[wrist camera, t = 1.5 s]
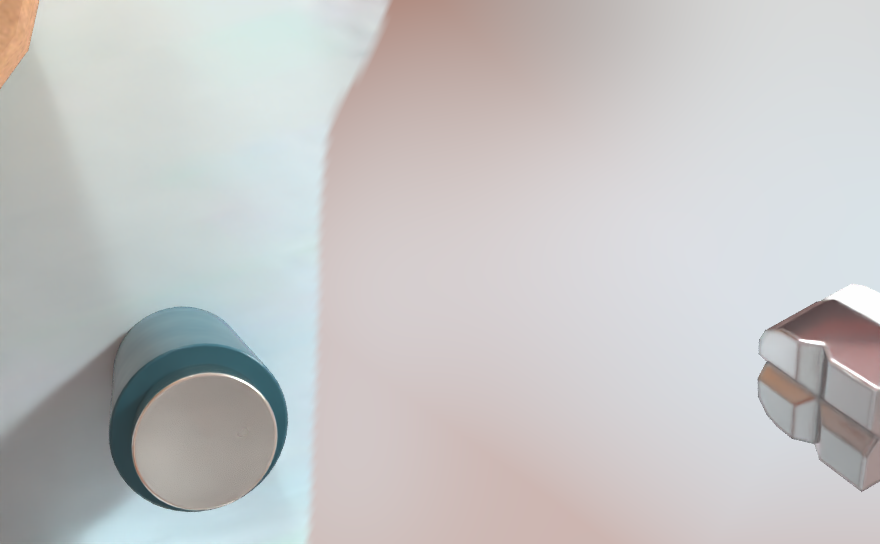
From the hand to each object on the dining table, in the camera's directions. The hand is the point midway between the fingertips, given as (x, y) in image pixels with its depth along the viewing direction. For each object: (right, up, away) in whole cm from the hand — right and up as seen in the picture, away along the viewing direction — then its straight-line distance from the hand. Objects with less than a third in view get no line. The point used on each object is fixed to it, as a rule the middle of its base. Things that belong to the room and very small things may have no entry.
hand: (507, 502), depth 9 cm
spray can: (-12, -1, +22) cm, 25 cm away
